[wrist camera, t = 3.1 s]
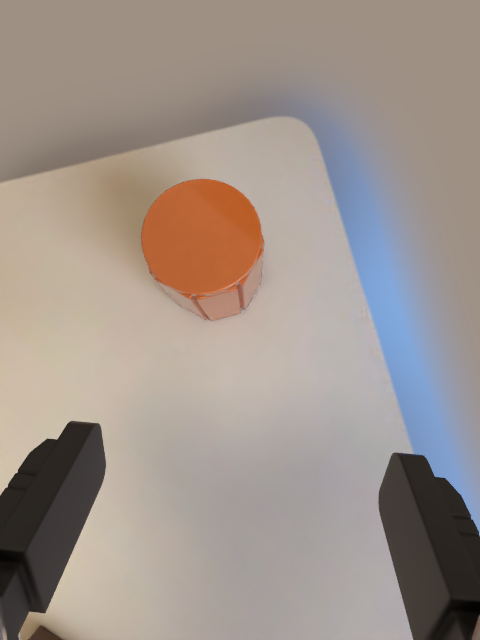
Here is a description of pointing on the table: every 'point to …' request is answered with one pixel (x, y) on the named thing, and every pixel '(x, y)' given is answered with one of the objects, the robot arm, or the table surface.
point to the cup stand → (43, 635)
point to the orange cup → (205, 247)
